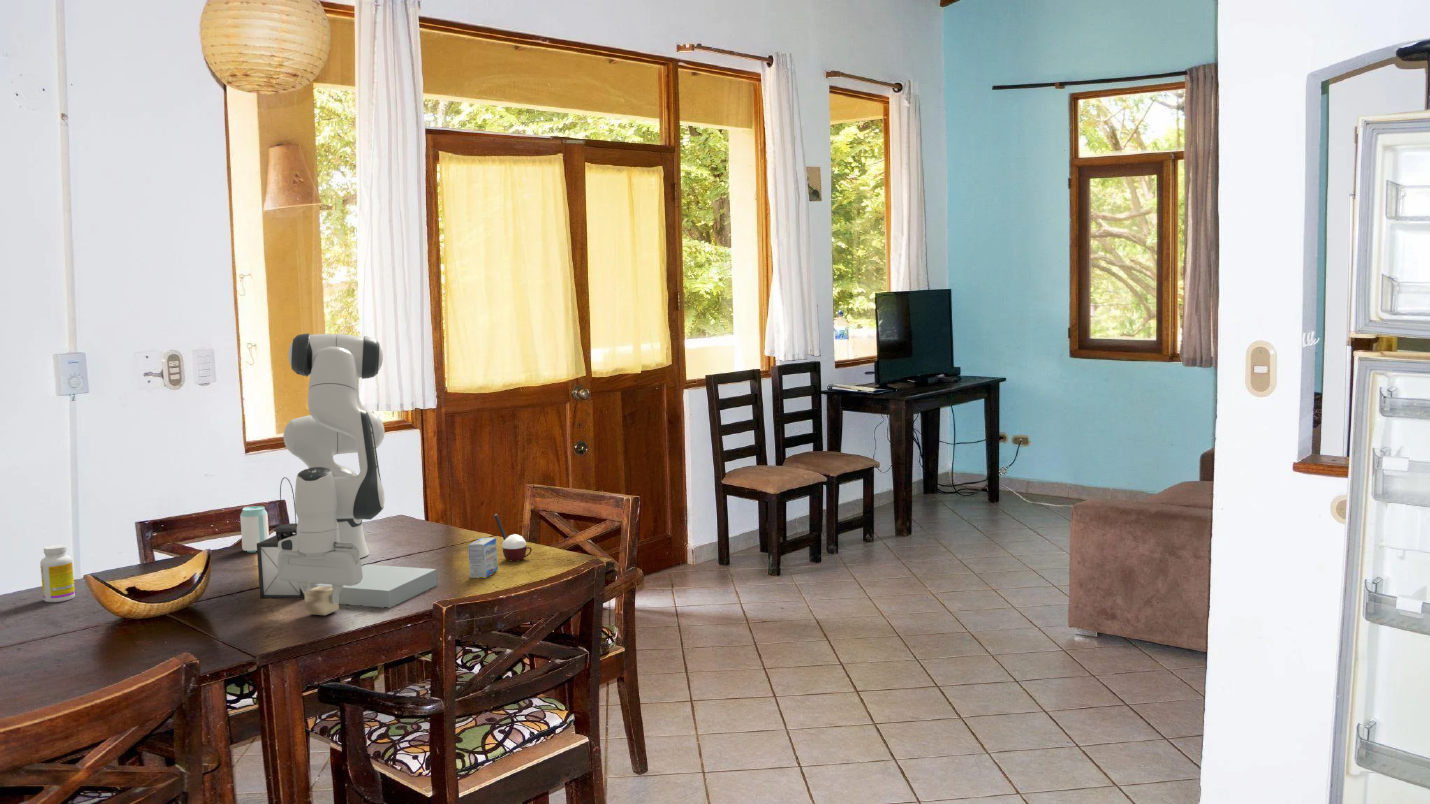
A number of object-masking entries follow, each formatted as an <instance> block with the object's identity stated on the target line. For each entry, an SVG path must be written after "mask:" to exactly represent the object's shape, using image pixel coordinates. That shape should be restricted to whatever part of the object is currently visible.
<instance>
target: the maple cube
mask: <svg viewBox="0 0 1430 804" xmlns="http://www.w3.org/2000/svg"><path fill="white" fill-rule="evenodd" d="M333 591H334V589H332V587H327V586H318V587H315V588H313V589H310V590H308V591H305V599H304V601H305V602H304V603H305V614H307V615H315V616H316V615H318V616H327V615H329V614H332V613H333V612H335V611H338V610H340V604H339V602H338V603H336V604H332V603H329V596H330V595H332V594H333Z"/></svg>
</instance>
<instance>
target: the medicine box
mask: <svg viewBox="0 0 1430 804" xmlns="http://www.w3.org/2000/svg"><path fill="white" fill-rule="evenodd" d="M497 546H498V545H497V538H496V537H480V538H478V539H477V540H475V541H474V542H471V543H469V544H468V546H467V547H468V548H467V549H468V551H467V553H468V568H469V578H470V577H471V578H470V579H478V578H477V577H487V578H489V577H490V576H491V575H490V574H492V573H493V572H495V573H496V572H497V571H498V569H499V568H498V567H499V566H498V551H497V549H498V548H497ZM496 570H497V571H496ZM493 574H494V573H493ZM493 574H492V575H493ZM489 575H490V576H489ZM488 576H489V577H488Z"/></svg>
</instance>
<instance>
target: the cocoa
mask: <svg viewBox="0 0 1430 804" xmlns="http://www.w3.org/2000/svg"><path fill="white" fill-rule="evenodd" d="M493 517H494V519H495V521H496V524H497V527H498V530H499V531H500V534H501V536H502V539H503V540H502V543H501V544H502V545H501V546H502V548H501V549H502V553H503V556H504V558H505V559H506V560H507V561H508V560H512V561H511V562H518V561H517V560H520V561H522V560H523V559H525V558H526V557H528V556H530V554H531V553H532V550H533V549H532V547H530V546H527V543H526V542H527V541H526V540H525V538H524V537H523V536H522V535H519V534H516V533H513V534H510V535H508V536H507V535H506V533H505V532H506V531H505V530H504V527H503V526H502V523H501V520H500V518H499V516H498V514H497V513H495V514H494V516H493ZM527 549H529V552H528V553H527Z"/></svg>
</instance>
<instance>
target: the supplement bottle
mask: <svg viewBox="0 0 1430 804" xmlns="http://www.w3.org/2000/svg"><path fill="white" fill-rule="evenodd" d="M43 553H44V557H43V558H42V559H41V560H40V563H39V564H40V566H39V567H40V575H41V576H40V577H41V588H42V597H43V598H42V599H43V601H44V602H46V603H61V602H65V601H66V602H67V601H68V600H72V599H73V598H75V596H76V590H75V579H74V566H73V559H72V556H70V555H69V554H67V545H65V544H52V545H47V546H44V547H43Z"/></svg>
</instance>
